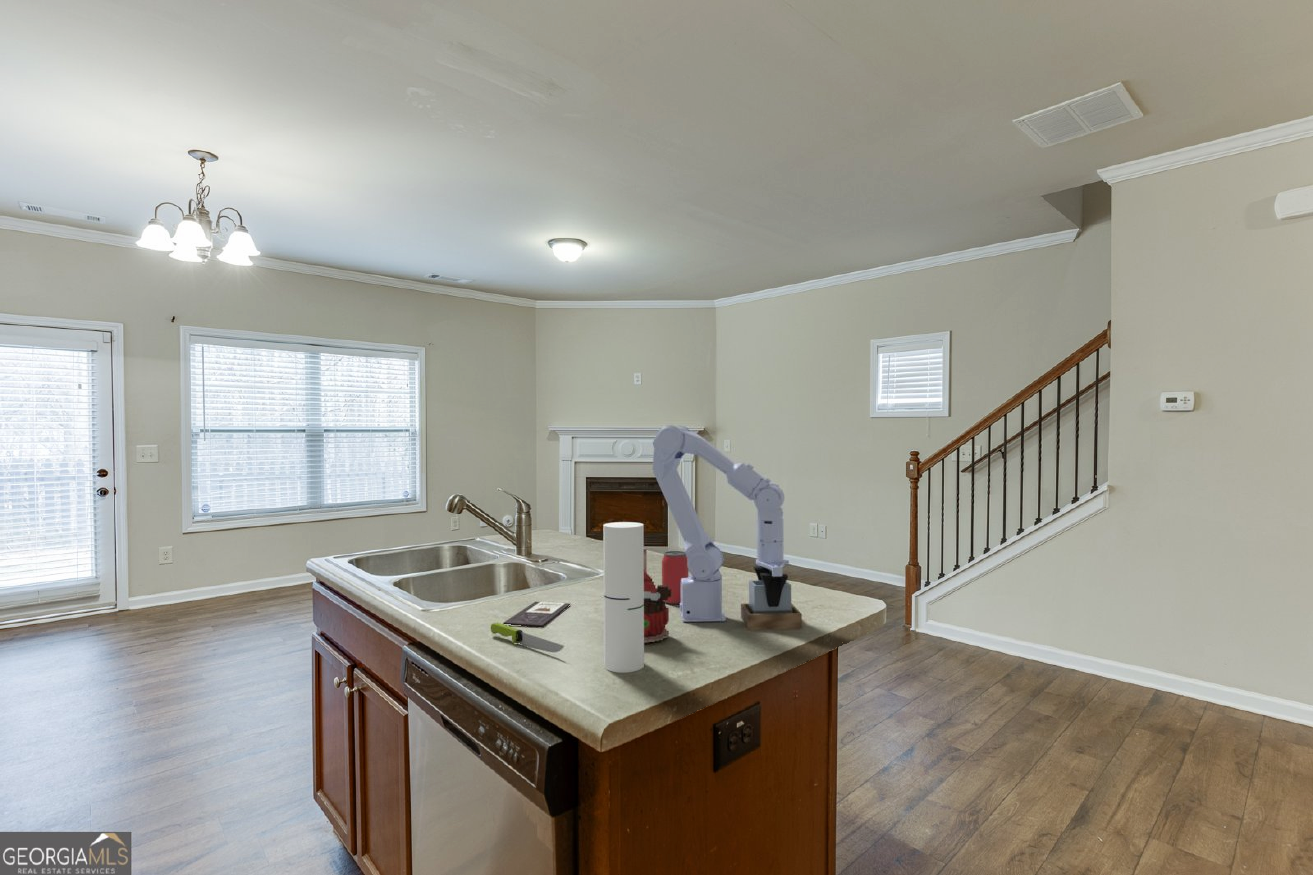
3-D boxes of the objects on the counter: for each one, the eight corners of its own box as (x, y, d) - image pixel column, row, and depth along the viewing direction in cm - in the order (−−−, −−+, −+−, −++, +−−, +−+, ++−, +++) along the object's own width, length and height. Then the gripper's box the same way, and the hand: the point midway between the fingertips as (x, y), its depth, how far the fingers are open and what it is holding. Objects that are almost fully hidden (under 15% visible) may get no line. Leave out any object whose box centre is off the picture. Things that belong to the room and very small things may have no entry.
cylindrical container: (603, 658, 115) (603, 522, 115) (642, 657, 116) (642, 521, 116) (603, 673, 108) (603, 527, 108) (645, 671, 109) (644, 527, 109)
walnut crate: (748, 631, 133) (747, 614, 133) (740, 619, 142) (740, 603, 142) (801, 630, 133) (801, 614, 133) (791, 618, 142) (791, 602, 142)
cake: (674, 632, 131) (674, 545, 131) (667, 647, 122) (667, 554, 122) (624, 629, 133) (623, 544, 133) (613, 644, 124) (613, 552, 124)
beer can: (689, 598, 159) (689, 550, 159) (687, 605, 152) (687, 555, 152) (663, 597, 159) (662, 550, 159) (660, 604, 153) (660, 555, 153)
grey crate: (754, 614, 134) (754, 585, 134) (749, 607, 140) (748, 580, 140) (791, 613, 135) (791, 584, 135) (784, 606, 140) (784, 579, 140)
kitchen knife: (567, 660, 116) (566, 644, 116) (561, 662, 115) (561, 646, 115) (495, 636, 130) (495, 621, 130) (490, 637, 129) (490, 622, 129)
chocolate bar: (503, 622, 136) (535, 601, 154) (503, 627, 136) (535, 605, 154) (542, 625, 135) (570, 603, 152) (542, 629, 135) (570, 607, 152)
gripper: (796, 545, 130) (797, 611, 130) (780, 534, 145) (780, 594, 145) (762, 546, 130) (763, 612, 130) (749, 535, 144) (750, 594, 144)
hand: (770, 602), depth 137 cm, fingers closed on grey crate, 5 cm apart
